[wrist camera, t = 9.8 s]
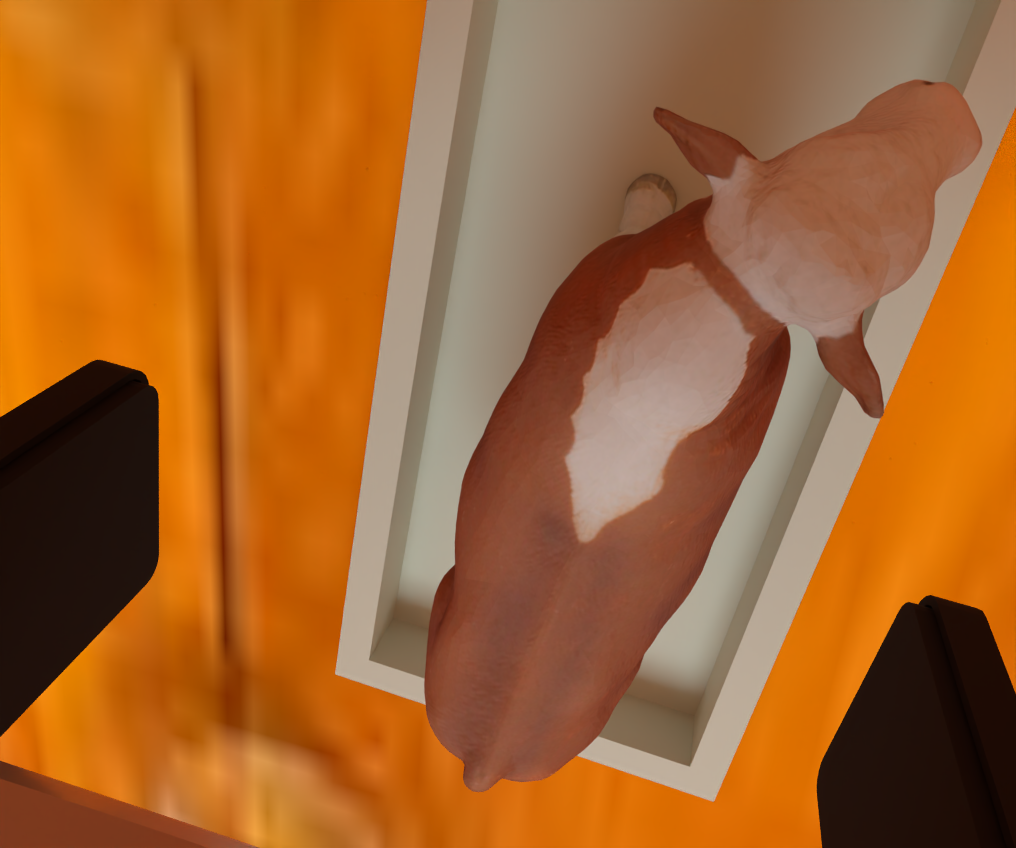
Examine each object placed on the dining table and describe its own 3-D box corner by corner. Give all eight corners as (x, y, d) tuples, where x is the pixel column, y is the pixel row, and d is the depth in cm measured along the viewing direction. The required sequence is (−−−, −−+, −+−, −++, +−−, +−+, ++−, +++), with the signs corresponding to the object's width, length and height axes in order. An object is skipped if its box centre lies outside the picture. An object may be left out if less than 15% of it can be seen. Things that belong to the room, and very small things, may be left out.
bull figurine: (952, 90, 16) (1122, 167, 8) (601, 620, 22) (527, 922, 15) (725, -26, 16) (701, -47, 8) (442, 536, 22) (291, 794, 15)
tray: (497, -189, 16) (456, -219, 14) (1050, -80, 15) (1102, -93, 13) (372, 613, 25) (335, 674, 22) (717, 726, 23) (713, 802, 21)
